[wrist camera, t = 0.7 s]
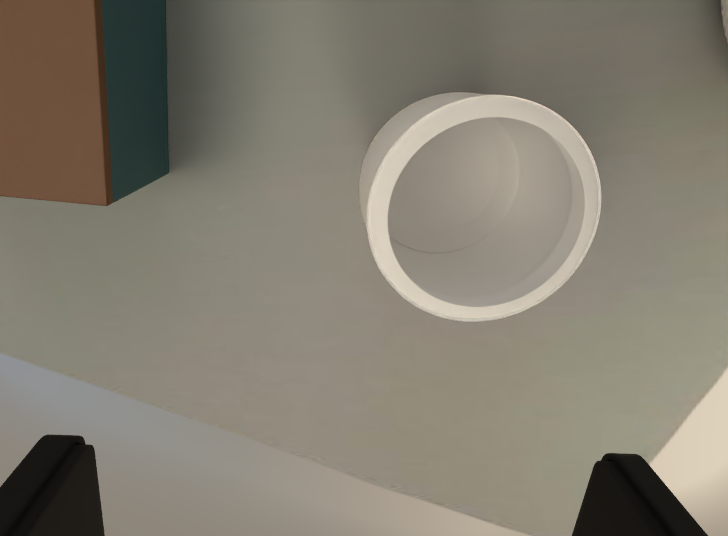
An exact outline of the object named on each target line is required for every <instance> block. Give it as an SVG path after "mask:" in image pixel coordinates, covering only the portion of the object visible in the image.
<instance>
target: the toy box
mask: <svg viewBox="0 0 728 536" xmlns="http://www.w3.org/2000/svg"><path fill="white" fill-rule="evenodd" d="M101 1H102V18H103V36H104V53H105V70H106V88H107V105H108V122H109V140H110V157H111V175H112V192H113V202H115V201H117V200H119V199H121V198H123V197H125V196H127V195H129V194H130V193H132V192H134V191H136V190H138V189H140V188H142V187H144V186H146V185H147V184H149V183H151V182H153V181H155V180H157V179H159V178H161V177H163V176H164V175H166V174H168V173H169V159H168V105H167V50H166V0H101Z"/></svg>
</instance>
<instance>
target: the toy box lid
mask: <svg viewBox="0 0 728 536" xmlns="http://www.w3.org/2000/svg"><path fill="white" fill-rule="evenodd" d="M0 196H6V197H17V198H28V199H38V200H49V201H59V202H70V203H80V204H91V205H101V206H108V205H110V204H111V203H113V192H112V175H111V157H110V140H109V122H108V105H107V88H106V70H105V53H104V36H103V18H102V1H101V0H0Z"/></svg>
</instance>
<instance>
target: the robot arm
mask: <svg viewBox="0 0 728 536" xmlns="http://www.w3.org/2000/svg"><path fill="white" fill-rule="evenodd" d="M0 536H104V527H103V518H102V510H101V502H100V494H99V485H98V477H97V467H96V459H95V451H94V447H93V446H92V445H86V444H85V441H84V439H83V437H82V436H73V435H45V436H43V437H42V438H41V439H40V440H39V441H38V442H37V443H36V445H35V446H34V447H33V448H32V450H31V451H30V452H29V453H28V454H27V456H26V457H25V458H24V459H23V460H22V462H21V463H20V464H19V465H18V466H17V468H16V469H15V470H14V471H13V473H12V474H11V475H10V476H9V477H8V479H7V480H6V481H5V482H4V483H3V485H2V486H1V487H0ZM572 536H708V535H707V534H706V533H705V532H704V531H703V529H702V528H701V527H700V526H699V525H698V523H697V522H696V521H695V520H694V519H693V517H692V516H691V515H690V514H689V513H688V511H687V510H686V509H685V508H684V507H683V505H682V504H681V503H680V502H679V501H678V499H677V498H676V497H675V496H674V495H673V493H672V492H671V491H670V490H669V489H668V487H667V486H666V485H665V484H664V483H663V481H662V480H661V479H660V478H659V477H658V475H657V474H656V473H655V472H654V471H653V469H652V468H651V467H650V466H649V465H648V463H647V462H646V461H645V460H644V459H643V458H642V457H641V456H639V455H637V454H617V453H608V454H605V455H604V456H603V458H602V460H601V461H597V462H596V463H595V465H594V467H593V470H592V474H591V477H590V480H589V483H588V486H587V489H586V493H585V496H584V499H583V502H582V505H581V509H580V512H579V515H578V518H577V521H576V524H575V528H574V531H573V534H572Z"/></svg>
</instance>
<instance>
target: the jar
mask: <svg viewBox="0 0 728 536" xmlns="http://www.w3.org/2000/svg"><path fill="white" fill-rule="evenodd" d="M359 200H360V207H361V212H362V216H363V220H364V223H365V225H366V228H367V233H368V239H369V244H370V248H371V251H372V254H373V257H374V259H375V261H376V264H377V266H378V267H379V269H380V271H381V273H382V274H383V276H384V277H385V279H386V280H387V281H388V283H389V284H390V285H391V286H392V287H393V288H394V290H395V291H396V292H398V293H399V294H400V295H401V296H402V297H403V298H404V299H406V300H407V301H408V302H410V303H411V304H413V305H414V306H416V307H418V308H420V309H422V310H424V311H426V312H428V313H430V314H433V315H436V316H439V317H442V318H446V319H451V320H457V321H468V322H478V321H489V320H495V319H500V318H504V317H508V316H511V315H514V314H517V313H520V312H522V311H524V310H527V309H529V308H531V307H533V306H534V305H536V304H538V303H540V302H541V301H543V300H544V299H546V298H547V297H549V296H550V295H551V294H553V293H554V292H555V291H556V290H557V289H559V288H560V287H561V286H562V285H563V284H564V283H565V282H566V281H567V280H568V279H569V278H570V277H571V275H572V274H573V273H574V272H575V271H576V269H577V268H578V266H579V265H580V264H581V262H582V261H583V259H584V257H585V256H586V254H587V252H588V250H589V248H590V246H591V244H592V241H593V239H594V236H595V233H596V230H597V226H598V222H599V217H600V210H601V185H600V178H599V174H598V170H597V166H596V163H595V161H594V158H593V156H592V154H591V152H590V150H589V148H588V146H587V144H586V143H585V141H584V140H583V138H582V137H581V136H580V134H579V133H578V132H577V131H576V130H575V128H574V127H573V126H572V125H571V124H570V123H568V122H567V121H566V120H565V119H564V118H562V117H561V116H560V115H558V114H557V113H555V112H554V111H552V110H551V109H549V108H547V107H545V106H543V105H541V104H538V103H536V102H533V101H530V100H527V99H523V98H519V97H513V96H507V95H483V94H477V93H468V92H453V93H444V94H439V95H434V96H430V97H427V98H424V99H422V100H419V101H417V102H415V103H413V104H411V105H409V106H407V107H405V108H404V109H402V110H401V111H399V112H398V113H397V114H395V115H394V116H393V117H392V118H391V119H390V120H388V121H387V122H386V123H385V125H384V126H383V127H382V128H381V129H380V130H379V132H378V133H377V134H376V136H375V137H374V139H373V140H372V142H371V144H370V146H369V148H368V150H367V152H366V155H365V157H364V160H363V164H362V168H361V172H360V179H359Z"/></svg>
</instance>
